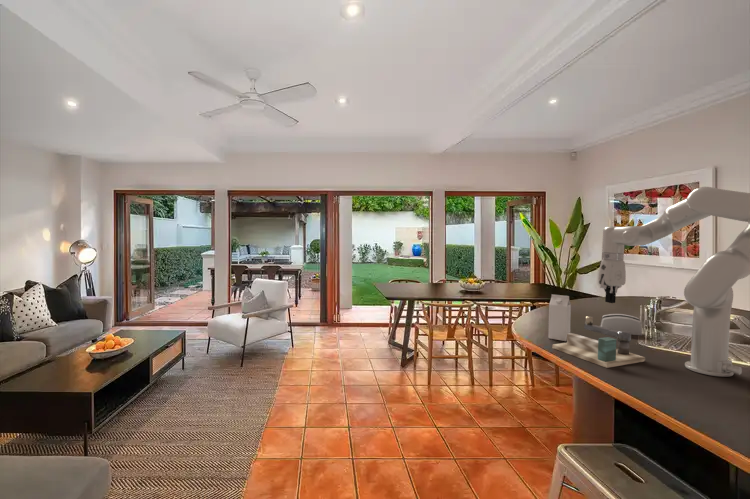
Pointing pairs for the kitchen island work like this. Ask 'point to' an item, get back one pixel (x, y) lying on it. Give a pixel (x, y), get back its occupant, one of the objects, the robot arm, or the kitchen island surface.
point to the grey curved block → (622, 323)
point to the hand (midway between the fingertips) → (610, 302)
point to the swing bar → (607, 330)
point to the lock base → (595, 356)
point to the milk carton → (559, 317)
